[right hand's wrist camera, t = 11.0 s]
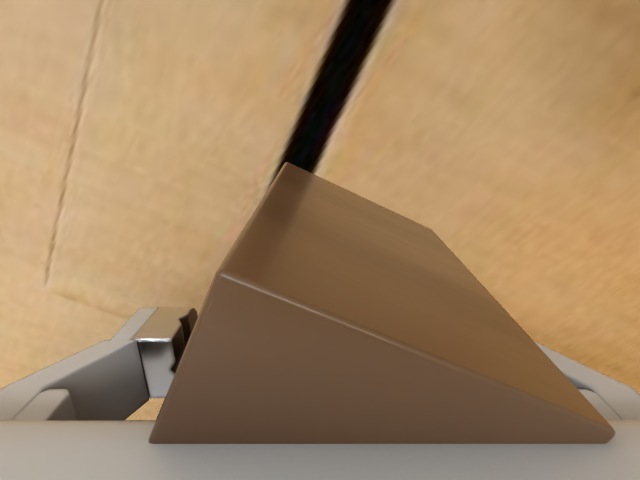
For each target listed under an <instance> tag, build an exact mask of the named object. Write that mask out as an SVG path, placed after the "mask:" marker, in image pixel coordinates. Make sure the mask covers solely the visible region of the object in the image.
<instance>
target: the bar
mask: <svg viewBox="0 0 640 480" xmlns="http://www.w3.org/2000/svg"><path fill="white" fill-rule="evenodd" d="M615 433H616V432H615V430H614V429H613V427H612V426H611V425H610V424H609V423H608V422H607V421H606V420H605V419H604V417H603V416H602V415H601V414H600V413H599V412H598V411H597V410H596V409H595V408H594V407H593V405H592V404H591V403H590V402H589V401H588V400H587V399H586V398H585V397H584V396H583V394H582V393H581V392H580V391H579V390H578V389H577V388H576V387H575V386H574V385H573V384H572V382H571V381H570V380H569V379H568V378H567V377H566V376H565V375H564V374H563V373H562V372H561V370H560V369H559V368H558V367H557V366H556V365H555V364H554V363H553V362H552V361H551V360H550V358H549V357H548V356H547V355H546V354H545V353H544V352H543V351H542V350H541V349H540V347H539V346H538V345H537V344H536V343H535V342H534V341H533V340H532V339H531V338H530V337H529V335H528V334H527V333H526V332H525V331H524V330H523V329H522V328H521V327H520V326H519V325H518V323H517V322H516V321H515V320H514V319H513V318H512V317H511V316H510V315H509V314H508V313H507V311H506V310H505V309H504V308H503V307H502V306H501V305H500V304H499V303H498V302H497V300H496V299H495V298H494V297H493V296H492V295H491V294H490V293H489V292H488V291H487V290H486V288H485V287H484V286H483V285H482V284H481V283H480V282H479V281H478V280H477V279H476V278H475V276H474V275H473V274H472V273H471V272H470V271H469V270H468V269H467V268H466V267H465V266H464V264H463V263H462V262H461V261H460V260H459V259H458V258H457V257H456V256H455V255H454V253H453V252H452V251H451V250H450V249H449V248H448V247H447V246H446V245H445V244H444V243H443V241H442V240H441V239H440V238H439V237H438V236H437V235H436V234H435V233H434V232H433V231H432V230H431V229H429V228H427V227H425V226H423V225H421V224H418V223H416V222H414V221H412V220H410V219H408V218H406V217H404V216H401V215H399V214H397V213H395V212H393V211H391V210H389V209H386V208H384V207H382V206H380V205H378V204H376V203H374V202H372V201H369V200H367V199H365V198H363V197H361V196H359V195H357V194H354V193H352V192H350V191H348V190H346V189H344V188H342V187H340V186H337V185H335V184H333V183H331V182H329V181H327V180H325V179H322V178H320V177H318V176H316V175H314V174H312V173H310V172H308V171H305V170H303V169H301V168H299V167H297V166H295V165H293V164H290V163H288V162H286V163H285V164H284V165H283V167H282V168H281V170H280V172H279V173H278V175H277V176H276V178H275V180H274V181H273V183H272V184H271V186H270V188H269V189H268V191H267V192H266V194H265V195H264V197H263V199H262V200H261V202H260V203H259V205H258V207H257V208H256V210H255V211H254V213H253V215H252V216H251V218H250V219H249V221H248V222H247V224H246V226H245V227H244V229H243V230H242V232H241V234H240V235H239V237H238V238H237V240H236V242H235V243H234V245H233V246H232V248H231V250H230V251H229V253H228V254H227V256H226V257H225V259H224V261H223V262H222V264H221V265H220V267H219V269H218V270H217V272H216V274H215V276H214V279H213V281H212V284H211V286H210V289H209V291H208V294H207V296H206V299H205V301H204V303H203V306H202V308H201V311H200V313H199V316H198V318H197V321H196V323H195V326H194V328H193V331H192V333H191V336H190V338H189V340H188V343H187V345H186V348H185V350H184V353H183V355H182V358H181V360H180V363H179V365H178V368H177V370H176V373H175V375H174V377H173V380H172V382H171V385H170V387H169V390H168V392H167V395H166V397H165V400H164V402H163V405H162V407H161V410H160V412H159V414H158V417H157V419H156V422H155V424H154V427H153V429H152V432H151V434H150V437H149V443H152V444H605V443H608V442H609V441H610V440H611V439H612V438H613V437H614V436H615Z"/></svg>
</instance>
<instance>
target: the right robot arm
mask: <svg viewBox="0 0 640 480" xmlns="http://www.w3.org/2000/svg"><path fill="white" fill-rule="evenodd" d="M197 318H198V316H197V311H196V310H195V309H194V308H162V307H161V308H159V307H143V308H139V309H138V310H137V311H136V312H135V314H134V315H133V316H132V317H131V318H130V319H129V320H128V321H127V322H126V323H125V325H124V326H123V327H122V328H121V329H120V330H119V331H118V332H117V333H116V334H115V336H114V337H113V338H112V339H111V340H104V341H102V342H100V343H97V344H95V345H93V346H91V347H89V348H87V349H84V350H82V351H80V352H78V353H76V354H74V355H72V356H69V357H67V358H65V359H63V360H61V361H59V362H57V363H54V364H52V365H50V366H48V367H46V368H44V369H42V370H39V371H37V372H35V373H33V374H31V375H29V376H27V377H24V378H22V379H20V380H18V381H16V382H14V383H12V384H9V385H7V386H5V387H3V388H2V389H1V390H0V480H640V394H639V393H638V392H637V391H636V390H635V389H634V388H632V387H630V386H628V385H626V384H623V383H621V382H619V381H617V380H615V379H613V378H611V377H609V376H606V375H604V374H602V373H600V372H598V371H596V370H594V369H592V368H590V367H587V366H585V365H583V364H581V363H579V362H577V361H575V360H573V359H570V358H568V357H566V356H564V355H562V354H560V353H558V352H556V351H553V350H551V349H549V348H547V347H545V346H543V345H541V344H539V343H537V342H535V343H536V344H537V345H538V346H539V347H540V349H541V350H542V351H543V352H544V353H545V354H546V355H547V356H548V357H549V358H550V360H551V361H552V362H553V363H554V364H555V365H556V366H557V367H558V368H559V369H560V370H561V372H562V373H563V374H564V375H565V376H566V377H567V378H568V379H569V380H570V381H571V382H572V384H573V385H574V386H575V387H576V388H577V389H578V390H579V391H580V392H581V393H582V394H583V396H584V397H585V398H586V399H587V400H588V401H589V402H590V403H591V404H592V405H593V407H594V408H595V409H596V410H597V411H598V412H599V413H600V414H601V415H602V416H603V417H604V419H605V420H606V421H607V422H608V423H609V424H610V425H611V426H612V427H613V429H614V430H615V432H616V433H615V436H614V437H613V438H612V439H611V440H610V441H609V442H608V443H605V444H152V443H149V437H150V434H151V432H152V429H153V427H154V424H155V422H156V420H125V419H126V418H128V417H129V416H130V415H131V414H132V413H134V412H135V411H136V410H137V409H139V408H140V407H141V406H142V405H143V404H145V403H146V402H147V401H148V400H149V398H165V397H166V395H167V392H168V390H169V387H170V385H171V382H172V380H173V377H174V375H175V373H176V370H177V368H178V365H179V363H180V360H181V358H182V355H183V353H184V350H185V348H186V345H187V343H188V340H189V338H190V336H191V333H192V331H193V328H194V326H195V323H196V321H197Z"/></svg>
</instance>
